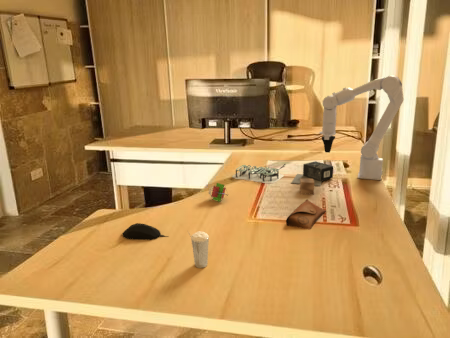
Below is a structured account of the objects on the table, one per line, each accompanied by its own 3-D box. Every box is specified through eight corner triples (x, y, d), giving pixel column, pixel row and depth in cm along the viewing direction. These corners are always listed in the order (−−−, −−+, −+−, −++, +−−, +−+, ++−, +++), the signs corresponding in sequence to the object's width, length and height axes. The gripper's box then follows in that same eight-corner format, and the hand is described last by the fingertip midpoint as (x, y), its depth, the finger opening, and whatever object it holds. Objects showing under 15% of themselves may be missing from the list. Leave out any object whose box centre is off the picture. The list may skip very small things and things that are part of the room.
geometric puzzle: (222, 189, 149) (212, 176, 144) (234, 193, 145) (225, 180, 140) (212, 203, 147) (202, 191, 142) (224, 207, 142) (214, 195, 137)
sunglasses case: (311, 230, 117) (301, 211, 117) (292, 236, 121) (283, 218, 121) (327, 210, 132) (318, 193, 132) (310, 216, 136) (301, 200, 136)
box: (321, 168, 159) (302, 163, 168) (320, 181, 161) (302, 176, 169) (333, 165, 163) (315, 160, 172) (333, 178, 165) (314, 172, 173)
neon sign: (296, 159, 184) (273, 175, 159) (295, 167, 185) (273, 185, 160) (256, 154, 193) (229, 169, 169) (256, 162, 195) (229, 178, 170)
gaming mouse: (166, 242, 113) (165, 230, 111) (119, 239, 115) (118, 227, 114) (172, 233, 119) (171, 221, 117) (127, 230, 121) (126, 219, 120)
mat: (324, 177, 168) (324, 176, 168) (319, 186, 156) (319, 185, 156) (297, 174, 172) (297, 173, 172) (291, 183, 161) (291, 182, 161)
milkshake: (189, 261, 101) (187, 227, 99) (209, 259, 102) (208, 225, 99) (189, 270, 97) (187, 234, 94) (210, 268, 97) (208, 233, 95)
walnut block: (312, 190, 152) (312, 178, 151) (313, 194, 148) (314, 182, 146) (299, 190, 153) (300, 178, 152) (300, 194, 148) (301, 182, 147)
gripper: (322, 119, 177) (320, 147, 181) (317, 125, 164) (316, 155, 168) (338, 120, 174) (336, 148, 178) (334, 125, 161) (332, 156, 165)
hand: (327, 152), depth 173 cm, fingers closed
